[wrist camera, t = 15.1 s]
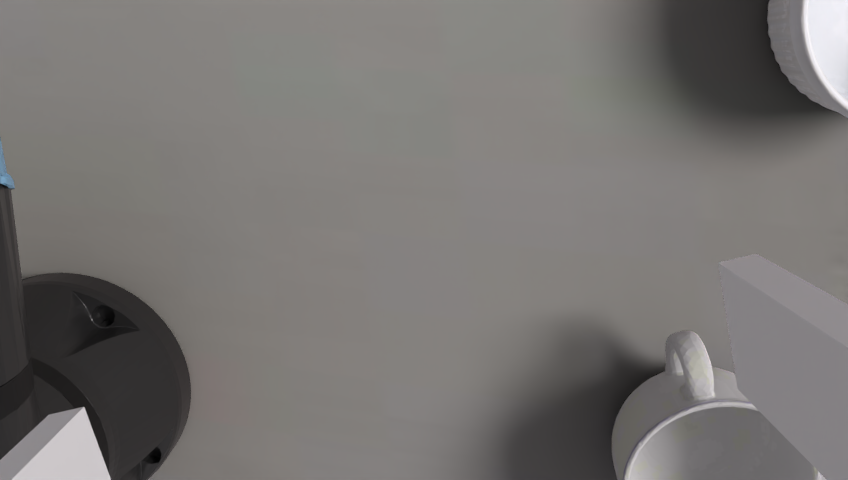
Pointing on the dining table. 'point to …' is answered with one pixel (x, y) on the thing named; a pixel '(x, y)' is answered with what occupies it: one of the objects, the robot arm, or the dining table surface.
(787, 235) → the dining table surface
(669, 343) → the teacup
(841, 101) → the ramekin
